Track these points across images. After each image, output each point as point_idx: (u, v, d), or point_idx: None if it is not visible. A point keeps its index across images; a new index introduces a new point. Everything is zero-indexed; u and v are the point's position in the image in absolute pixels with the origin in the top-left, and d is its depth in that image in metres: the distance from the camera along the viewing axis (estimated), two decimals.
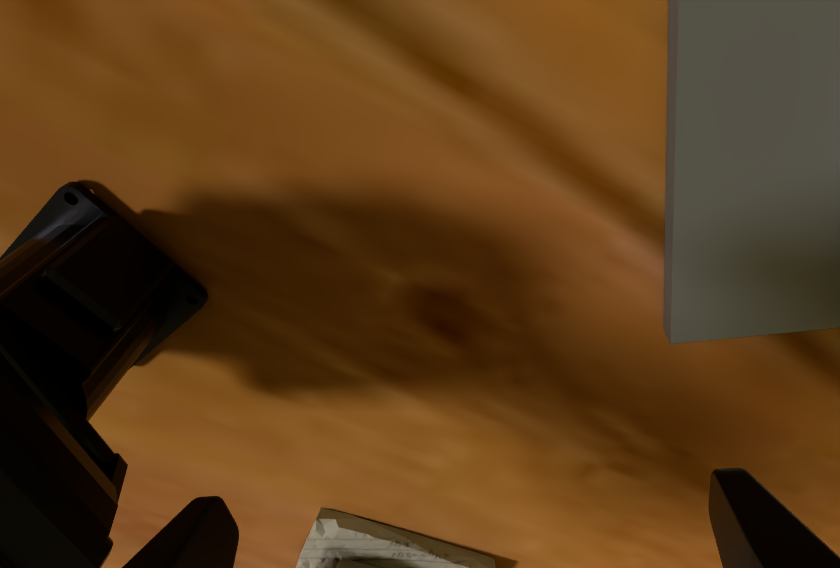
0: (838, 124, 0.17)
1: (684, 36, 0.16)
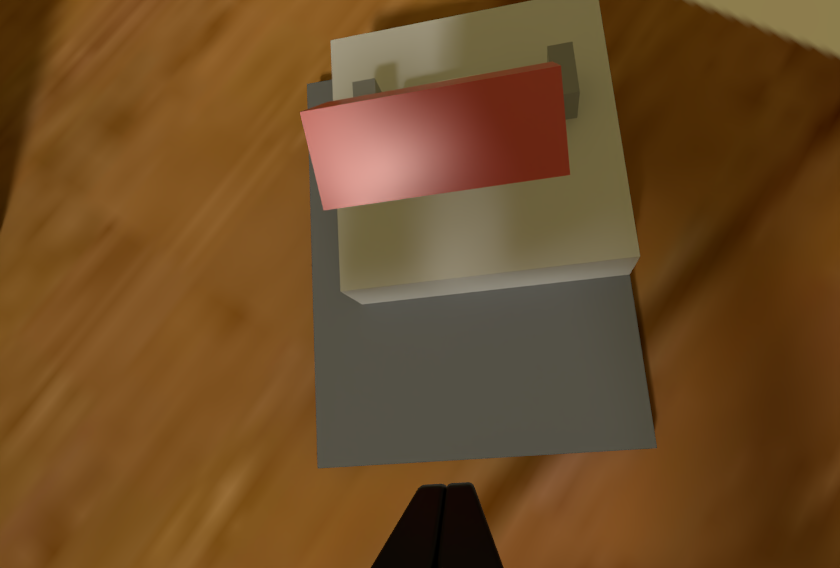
0: (426, 335, 0.22)
1: (349, 461, 0.22)
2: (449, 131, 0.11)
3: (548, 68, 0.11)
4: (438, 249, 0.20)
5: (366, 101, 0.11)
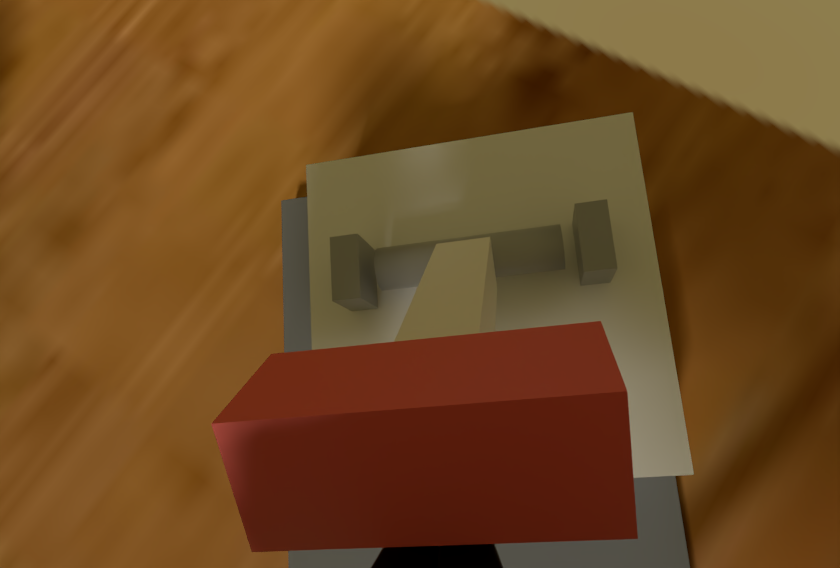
0: None
1: None
2: (444, 466, 0.07)
3: (606, 393, 0.07)
4: None
5: (313, 418, 0.07)
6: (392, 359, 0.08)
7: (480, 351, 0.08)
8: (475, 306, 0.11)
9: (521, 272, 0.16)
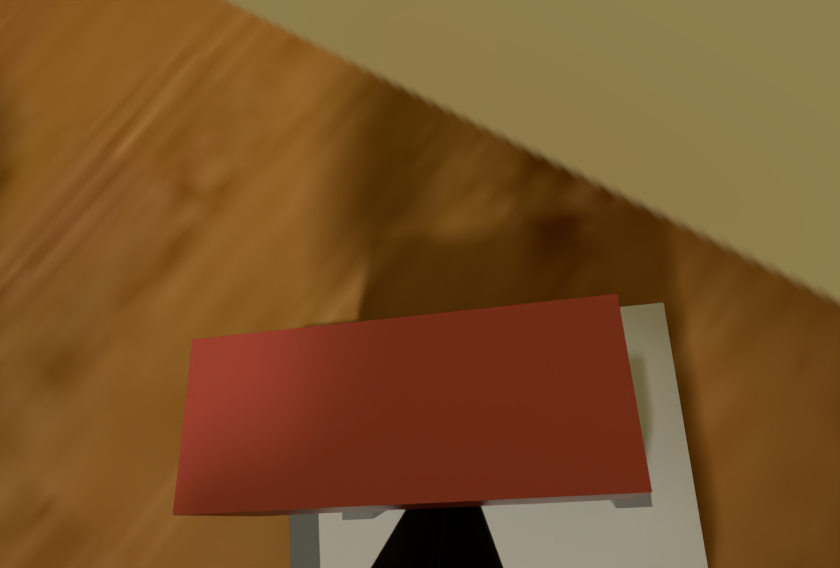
0: None
1: None
2: (422, 387, 0.06)
3: (596, 297, 0.06)
4: None
5: (295, 329, 0.07)
6: None
7: None
8: None
9: None
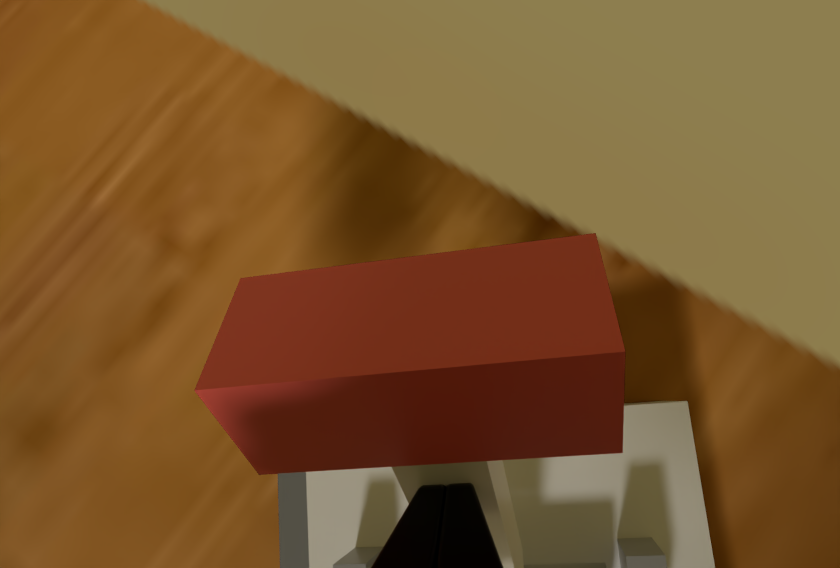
0: None
1: None
2: (429, 296, 0.07)
3: (578, 237, 0.08)
4: None
5: None
6: None
7: None
8: None
9: None
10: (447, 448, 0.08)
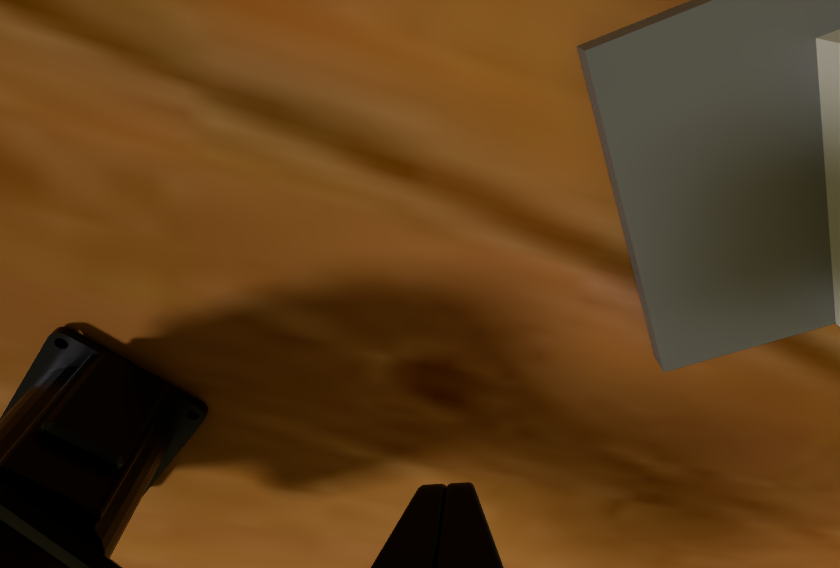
0: (769, 140, 0.18)
1: (601, 90, 0.17)
2: None
3: None
4: None
5: None
6: None
7: None
8: None
9: None
10: None
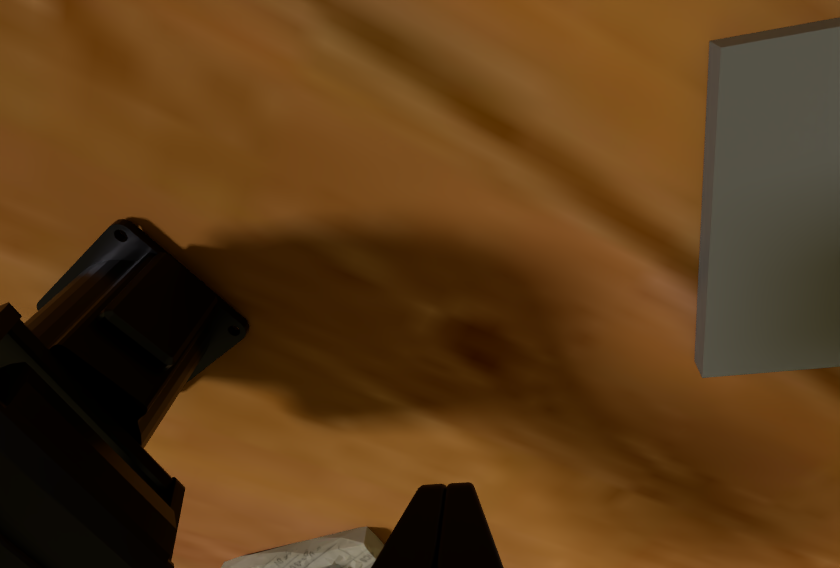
0: None
1: (725, 90, 0.17)
2: None
3: None
4: None
5: None
6: None
7: None
8: None
9: None
10: None
